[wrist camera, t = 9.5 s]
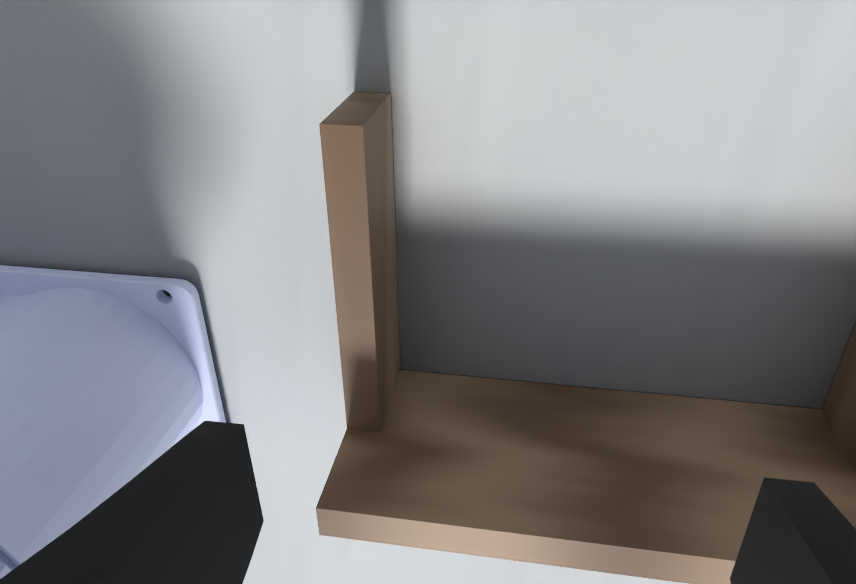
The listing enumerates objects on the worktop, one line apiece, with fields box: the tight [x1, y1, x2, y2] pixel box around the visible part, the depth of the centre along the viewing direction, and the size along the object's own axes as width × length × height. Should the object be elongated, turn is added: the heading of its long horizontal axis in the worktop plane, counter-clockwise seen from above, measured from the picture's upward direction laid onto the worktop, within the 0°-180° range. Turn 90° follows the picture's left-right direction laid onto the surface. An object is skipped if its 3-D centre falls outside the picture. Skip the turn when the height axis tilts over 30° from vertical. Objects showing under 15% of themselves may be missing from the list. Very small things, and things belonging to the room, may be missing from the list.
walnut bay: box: [316, 92, 856, 584], centre depth 16 cm, size 15×10×6 cm, turn 90°
